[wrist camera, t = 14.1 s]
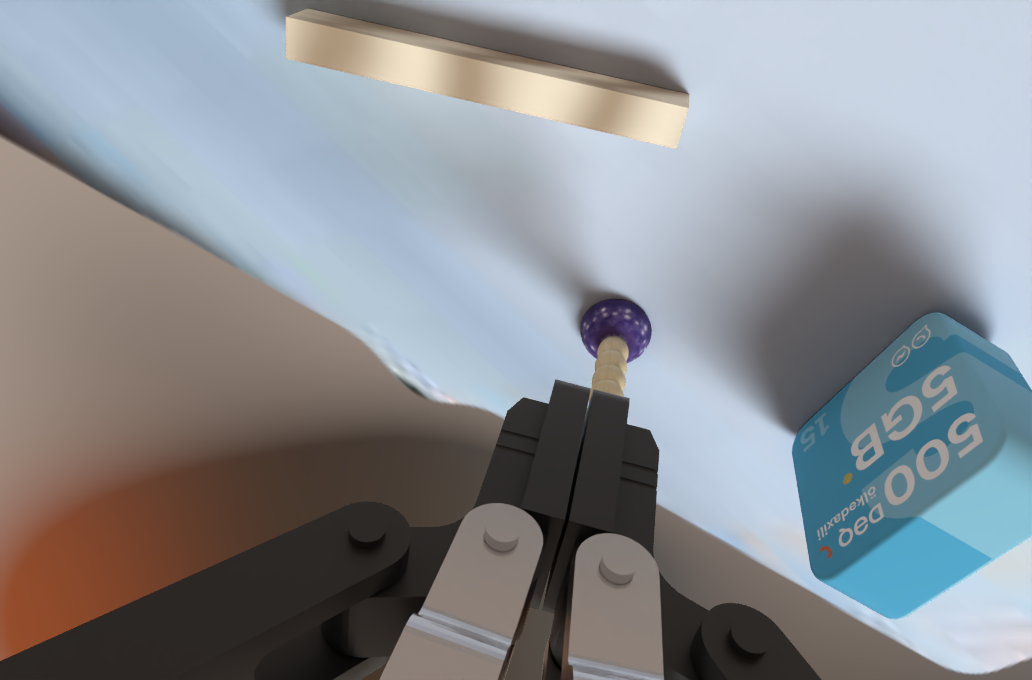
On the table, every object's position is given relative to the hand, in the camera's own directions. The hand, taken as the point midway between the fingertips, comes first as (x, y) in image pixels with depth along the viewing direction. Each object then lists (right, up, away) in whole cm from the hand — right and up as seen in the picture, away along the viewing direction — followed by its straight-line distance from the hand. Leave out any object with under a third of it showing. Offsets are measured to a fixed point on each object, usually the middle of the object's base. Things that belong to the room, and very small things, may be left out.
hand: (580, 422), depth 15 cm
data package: (+21, -1, +29) cm, 36 cm away
